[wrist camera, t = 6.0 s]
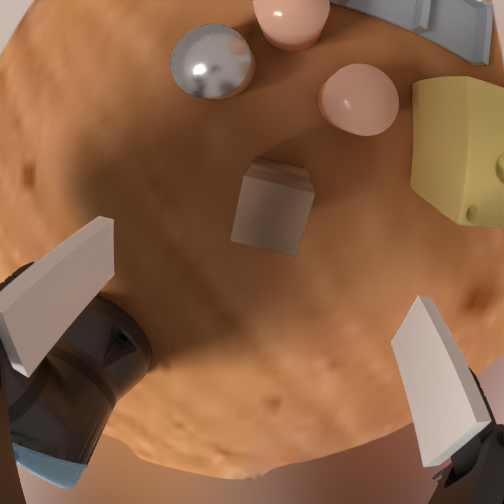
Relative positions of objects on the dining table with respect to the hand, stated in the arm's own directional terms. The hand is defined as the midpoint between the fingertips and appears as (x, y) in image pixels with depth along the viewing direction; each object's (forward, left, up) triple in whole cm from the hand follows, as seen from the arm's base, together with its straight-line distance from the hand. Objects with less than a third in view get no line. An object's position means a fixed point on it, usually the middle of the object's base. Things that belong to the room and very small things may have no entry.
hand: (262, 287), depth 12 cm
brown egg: (+4, +9, -16) cm, 19 cm away
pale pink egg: (-2, +14, -16) cm, 22 cm away
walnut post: (0, 0, -16) cm, 16 cm away
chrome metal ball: (-7, +9, -16) cm, 20 cm away
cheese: (+15, +9, -16) cm, 24 cm away
